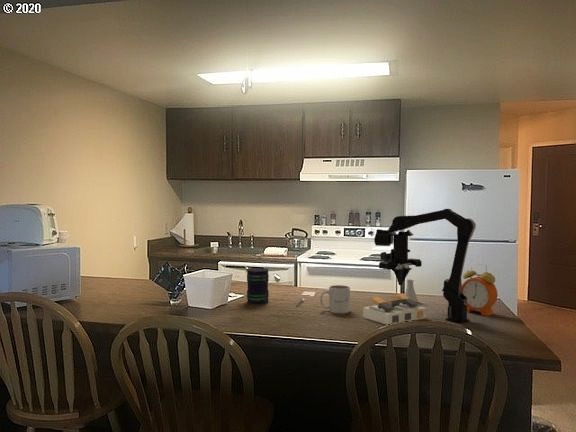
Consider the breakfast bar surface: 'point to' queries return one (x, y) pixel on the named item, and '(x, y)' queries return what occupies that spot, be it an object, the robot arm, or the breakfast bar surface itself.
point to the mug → (338, 299)
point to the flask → (410, 290)
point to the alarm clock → (480, 292)
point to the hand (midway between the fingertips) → (400, 285)
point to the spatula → (304, 299)
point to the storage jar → (257, 286)
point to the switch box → (394, 314)
